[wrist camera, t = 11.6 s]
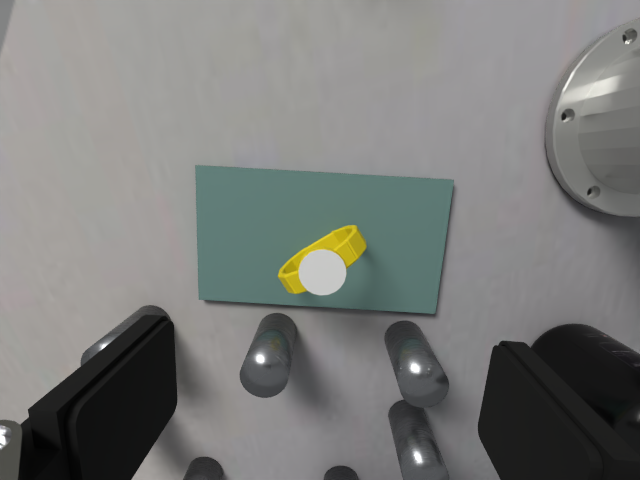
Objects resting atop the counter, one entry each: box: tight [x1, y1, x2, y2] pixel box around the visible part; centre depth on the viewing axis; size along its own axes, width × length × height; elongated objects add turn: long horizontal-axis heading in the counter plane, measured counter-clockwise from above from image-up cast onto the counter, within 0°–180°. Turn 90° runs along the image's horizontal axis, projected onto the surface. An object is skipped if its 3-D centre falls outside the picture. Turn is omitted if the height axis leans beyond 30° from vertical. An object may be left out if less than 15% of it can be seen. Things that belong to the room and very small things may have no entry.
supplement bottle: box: [531, 324, 640, 456], centre depth 21 cm, size 7×7×12 cm
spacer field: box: [81, 305, 449, 480], centre depth 26 cm, size 25×17×6 cm
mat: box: [195, 165, 454, 314], centre depth 25 cm, size 18×10×1 cm, turn 87°
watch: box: [278, 225, 367, 295], centre depth 22 cm, size 6×3×6 cm, turn 122°
